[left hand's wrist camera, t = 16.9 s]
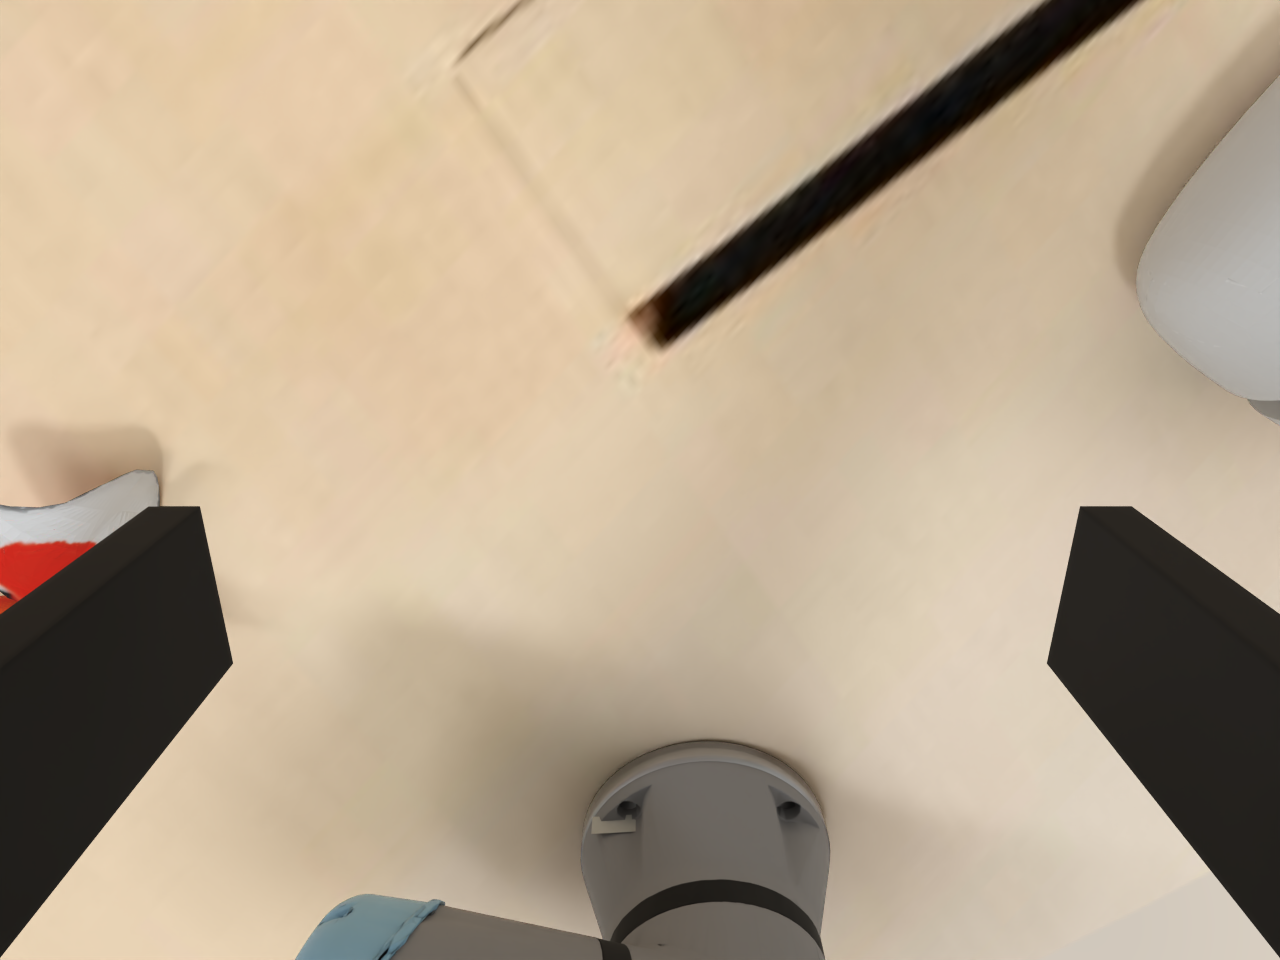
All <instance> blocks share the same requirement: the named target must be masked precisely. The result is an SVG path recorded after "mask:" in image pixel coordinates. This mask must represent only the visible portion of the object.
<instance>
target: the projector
mask: <svg viewBox="0 0 1280 960" xmlns="http://www.w3.org/2000/svg"><path fill="white" fill-rule="evenodd" d="M1136 290H1137V296H1138V300H1139V303H1140V307H1141V309H1142V311H1143V314H1144V316H1145V317H1146V319H1147V321H1148V322H1149V324H1150V325H1151V326H1152V328H1153V329H1154V330H1155V331H1156V332H1157V334H1158V335H1159V336H1160V337H1161V338H1162V339H1163V340H1164V341H1165V342H1166V343H1167V344H1168V345H1169V346H1170V347H1171V348H1172V349H1173V350H1174V351H1175V352H1176V353H1178V354H1179V355H1180V356H1181V357H1182V358H1184V359H1185V360H1186V361H1187V362H1188V363H1190V364H1191V365H1192V366H1193V367H1195V368H1196V369H1197V370H1199V371H1200V372H1201V373H1203V374H1204V375H1205V376H1207V377H1208V378H1209V379H1211V380H1212V381H1214V382H1215V383H1216V384H1218V385H1219V386H1221V387H1222V388H1224V389H1225V390H1227V391H1228V392H1230V393H1232V394H1234V395H1236V396H1239V397H1242V398H1247V399H1248V401H1249V403H1250V404H1251V405H1252V407H1253V408H1254V409H1255V410H1257V411H1258V412H1259V413H1261V414H1262V415H1264V416H1265V417H1267V418H1268V419H1270V420H1271V421H1273V422H1274V423H1276V424H1278V425H1279V426H1280V75H1279V76H1278V77H1277V78H1276V79H1275V81H1274V82H1273V83H1272V84H1271V85H1270V86H1269V87H1268V88H1267V89H1266V90H1265V92H1264V93H1263V94H1262V95H1261V96H1260V97H1259V98H1258V99H1257V100H1256V101H1255V103H1254V104H1253V105H1252V106H1251V107H1250V108H1249V109H1248V110H1247V111H1246V112H1245V114H1244V115H1243V116H1242V117H1241V118H1240V119H1239V121H1238V122H1237V123H1236V124H1235V125H1234V126H1233V128H1232V129H1231V130H1230V131H1229V132H1228V133H1227V135H1226V136H1225V137H1224V138H1223V139H1222V140H1221V142H1220V143H1219V144H1218V145H1217V146H1216V148H1215V149H1214V150H1213V151H1212V153H1211V154H1210V155H1209V156H1208V158H1207V159H1206V160H1205V161H1204V162H1203V164H1202V165H1201V166H1200V167H1199V169H1198V170H1197V171H1196V172H1195V174H1194V175H1193V176H1192V177H1191V179H1190V180H1189V181H1188V183H1187V184H1186V185H1185V187H1184V188H1183V189H1182V191H1181V192H1180V193H1179V195H1178V196H1177V197H1176V199H1175V200H1174V201H1173V203H1172V204H1171V206H1170V207H1169V209H1168V210H1167V212H1166V213H1165V215H1164V216H1163V218H1162V219H1161V221H1160V222H1159V224H1158V225H1157V227H1156V228H1155V230H1154V232H1153V234H1152V236H1151V237H1150V239H1149V241H1148V243H1147V245H1146V246H1145V249H1144V251H1143V254H1142V256H1141V258H1140V262H1139V265H1138V268H1137V276H1136Z"/></svg>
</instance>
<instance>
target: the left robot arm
mask: <svg viewBox="0 0 1280 960" xmlns="http://www.w3.org/2000/svg"><path fill="white" fill-rule="evenodd" d="M232 664H233V661H232V656H231V651H230V647H229V642H228V637H227V632H226V628H225V623H224V618H223V614H222V609H221V604H220V599H219V595H218V590H217V585H216V581H215V576H214V571H213V566H212V562H211V557H210V552H209V547H208V543H207V538H206V533H205V529H204V524H203V519H202V514H201V510H200V506H148V507H147V508H146V509H144V510H143V511H142V512H140V513H139V514H137V515H136V516H135V517H133V518H132V519H131V520H129V521H128V522H126V523H125V524H124V525H122V526H121V527H120V528H118V529H117V530H115V531H114V532H113V533H111V534H110V535H109V536H107V537H106V538H104V539H103V540H102V541H100V542H99V543H97V544H96V545H95V546H93V547H92V548H91V549H89V550H88V551H86V552H85V553H84V554H82V555H81V556H80V557H78V558H77V559H75V560H74V561H73V562H71V563H70V564H69V565H67V566H66V567H64V568H63V569H62V570H60V571H59V572H58V573H56V574H55V575H53V576H52V577H51V578H49V579H48V580H47V581H45V582H44V583H42V584H41V585H40V586H38V587H37V588H36V589H34V590H33V591H31V592H30V593H29V594H27V595H26V596H25V597H23V598H22V599H20V600H19V601H18V602H16V603H15V604H14V605H12V606H11V607H9V608H8V609H7V610H5V611H4V612H3V613H1V614H0V957H1V956H2V955H3V953H4V952H5V951H6V950H7V948H8V947H9V946H10V945H11V943H12V942H13V941H14V940H15V938H16V937H17V936H18V935H19V933H20V932H21V931H22V929H23V928H24V927H25V926H26V924H27V923H28V922H29V921H30V919H31V918H32V917H33V916H34V914H35V913H36V912H37V911H38V909H39V908H40V907H41V905H42V904H43V903H44V902H45V900H46V899H47V898H48V897H49V895H50V894H51V893H52V892H53V890H54V889H55V888H56V887H57V885H58V884H59V883H60V881H61V880H62V879H63V878H64V876H65V875H66V874H67V873H68V871H69V870H70V869H71V868H72V866H73V865H74V864H75V862H76V861H77V860H78V859H79V857H80V856H81V855H82V854H83V852H84V851H85V850H86V849H87V847H88V846H89V845H90V844H91V842H92V841H93V840H94V838H95V837H96V836H97V835H98V833H99V832H100V831H101V830H102V828H103V827H104V826H105V825H106V823H107V822H108V821H109V820H110V818H111V817H112V816H113V814H114V813H115V812H116V811H117V809H118V808H119V807H120V806H121V804H122V803H123V802H124V801H125V799H126V798H127V797H128V796H129V794H130V793H131V792H132V790H133V789H134V788H135V787H136V785H137V784H138V783H139V782H140V780H141V779H142V778H143V777H144V775H145V774H146V773H147V772H148V770H149V769H150V768H151V766H152V765H153V764H154V763H155V761H156V760H157V759H158V758H159V756H160V755H161V754H162V753H163V751H164V750H165V749H166V747H167V746H168V745H169V744H170V742H171V741H172V740H173V739H174V737H175V736H176V735H177V734H178V732H179V731H180V730H181V729H182V727H183V726H184V725H185V723H186V722H187V721H188V720H189V718H190V717H191V716H192V715H193V713H194V712H195V711H196V710H197V708H198V707H199V706H200V705H201V703H202V702H203V701H204V699H205V698H206V697H207V696H208V694H209V693H210V692H211V691H212V689H213V688H214V687H215V686H216V684H217V683H218V682H219V681H220V679H221V678H222V677H223V675H224V674H225V673H226V672H227V670H228V669H229V668H230V667H231V665H232ZM1047 664H1048V665H1049V667H1050V668H1051V669H1052V670H1053V672H1054V673H1055V674H1056V675H1057V677H1058V678H1059V679H1060V681H1061V682H1062V683H1063V684H1064V686H1065V687H1066V688H1067V689H1068V691H1069V692H1070V693H1071V694H1072V696H1073V697H1074V698H1075V699H1076V701H1077V702H1078V703H1079V705H1080V706H1081V707H1082V708H1083V710H1084V711H1085V712H1086V713H1087V715H1088V716H1089V717H1090V718H1091V720H1092V721H1093V722H1094V723H1095V725H1096V726H1097V727H1098V729H1099V730H1100V731H1101V732H1102V734H1103V735H1104V736H1105V737H1106V739H1107V740H1108V741H1109V742H1110V744H1111V745H1112V746H1113V747H1114V749H1115V750H1116V751H1117V753H1118V754H1119V755H1120V756H1121V758H1122V759H1123V760H1124V761H1125V763H1126V764H1127V765H1128V766H1129V768H1130V769H1131V770H1132V772H1133V773H1134V774H1135V775H1136V777H1137V778H1138V779H1139V780H1140V782H1141V783H1142V784H1143V785H1144V787H1145V788H1146V789H1147V790H1148V792H1149V793H1150V794H1151V796H1152V797H1153V798H1154V799H1155V801H1156V802H1157V803H1158V804H1159V806H1160V807H1161V808H1162V809H1163V811H1164V812H1165V813H1166V814H1167V816H1168V817H1169V818H1170V820H1171V821H1172V822H1173V823H1174V825H1175V826H1176V827H1177V828H1178V830H1179V831H1180V832H1181V833H1182V835H1183V836H1184V837H1185V838H1186V840H1187V841H1188V842H1189V844H1190V845H1191V846H1192V847H1193V849H1194V850H1195V851H1196V852H1197V854H1198V855H1199V856H1200V857H1201V859H1202V860H1203V861H1204V862H1205V864H1206V865H1207V866H1208V868H1209V869H1210V870H1211V871H1212V873H1213V874H1214V875H1215V876H1216V878H1217V879H1218V880H1219V881H1220V883H1221V884H1222V885H1223V886H1224V888H1225V889H1226V890H1227V892H1228V893H1229V894H1230V895H1231V897H1232V898H1233V899H1234V900H1235V902H1236V903H1237V904H1238V905H1239V907H1240V908H1241V909H1242V910H1243V912H1244V913H1245V914H1246V916H1247V917H1248V918H1249V919H1250V921H1251V922H1252V923H1253V924H1254V926H1255V927H1256V928H1257V929H1258V931H1259V932H1260V933H1261V935H1262V936H1263V937H1264V938H1265V940H1266V941H1267V942H1268V943H1269V945H1270V946H1271V947H1272V948H1273V950H1274V951H1275V952H1276V953H1277V955H1278V956H1279V957H1280V614H1279V613H1277V612H1276V611H1275V610H1273V609H1272V608H1271V607H1269V606H1268V605H1266V604H1265V603H1264V602H1262V601H1261V600H1260V599H1258V598H1257V597H1255V596H1254V595H1253V594H1251V593H1250V592H1249V591H1247V590H1246V589H1244V588H1243V587H1242V586H1240V585H1239V584H1238V583H1236V582H1235V581H1233V580H1232V579H1231V578H1229V577H1228V576H1227V575H1225V574H1224V573H1222V572H1221V571H1220V570H1218V569H1217V568H1216V567H1214V566H1213V565H1211V564H1210V563H1209V562H1207V561H1206V560H1205V559H1203V558H1202V557H1200V556H1199V555H1198V554H1196V553H1195V552H1194V551H1192V550H1191V549H1189V548H1188V547H1187V546H1185V545H1184V544H1183V543H1181V542H1180V541H1178V540H1177V539H1176V538H1174V537H1173V536H1172V535H1170V534H1169V533H1167V532H1166V531H1165V530H1163V529H1162V528H1160V527H1159V526H1158V525H1156V524H1155V523H1154V522H1152V521H1151V520H1149V519H1148V518H1147V517H1145V516H1144V515H1143V514H1141V513H1140V512H1138V511H1137V510H1136V509H1134V508H1133V507H1132V506H1080V510H1079V514H1078V519H1077V524H1076V529H1075V533H1074V538H1073V543H1072V547H1071V552H1070V557H1069V562H1068V566H1067V571H1066V576H1065V581H1064V585H1063V590H1062V595H1061V599H1060V604H1059V609H1058V614H1057V618H1056V623H1055V628H1054V632H1053V637H1052V642H1051V647H1050V651H1049V656H1048V661H1047ZM829 862H830V843H829V838H828V833H827V829H826V826H825V822H824V818H823V815H822V811H821V809H820V806H819V803H818V801H817V799H816V797H815V795H814V793H813V792H812V790H811V789H810V787H809V786H808V785H807V784H806V782H805V781H804V780H803V779H802V778H801V777H800V776H799V775H798V774H797V773H796V772H795V771H794V770H792V769H791V768H790V767H789V766H787V765H786V764H784V763H783V762H781V761H780V760H778V759H776V758H774V757H772V756H770V755H768V754H766V753H764V752H761V751H759V750H756V749H753V748H750V747H746V746H742V745H738V744H733V743H725V742H711V741H702V742H689V743H681V744H676V745H671V746H667V747H664V748H660V749H657V750H655V751H652V752H649V753H647V754H645V755H643V756H641V757H639V758H636V759H635V760H633V761H631V762H630V763H628V764H626V765H625V766H624V767H622V768H621V769H620V770H618V771H617V772H616V773H615V774H613V775H612V776H611V777H610V778H609V779H608V780H607V781H606V782H605V783H604V785H603V786H602V787H601V788H600V790H599V791H598V792H597V794H596V795H595V797H594V799H593V800H592V802H591V804H590V806H589V809H588V811H587V814H586V817H585V821H584V827H583V835H582V847H581V867H582V873H583V877H584V881H585V884H586V888H587V891H588V894H589V897H590V900H591V903H592V906H593V909H594V913H595V916H596V919H597V922H598V925H599V928H600V931H601V934H602V937H603V940H602V939H598V938H595V937H590V936H586V935H581V934H576V933H571V932H566V931H562V930H557V929H552V928H547V927H543V926H538V925H533V924H528V923H523V922H519V921H514V920H509V919H504V918H500V917H495V916H490V915H485V914H480V913H476V912H471V911H466V910H461V909H457V908H452V907H448V906H445V902H443V901H441V900H437V899H433V900H431V901H429V902H422V901H415V900H408V899H401V898H394V897H387V896H381V895H374V894H364V895H358V896H355V897H352V898H350V899H348V900H346V901H344V902H342V903H340V904H339V905H337V906H336V907H335V908H334V909H332V910H331V911H330V912H329V913H328V914H327V915H326V916H325V917H324V918H323V920H322V921H321V922H320V923H319V925H318V926H317V927H316V929H315V930H314V931H313V933H312V934H311V936H310V937H309V938H308V940H307V941H306V943H305V944H304V946H303V948H302V949H301V951H300V952H299V954H298V956H297V957H296V959H295V960H825V956H824V952H823V947H822V943H821V938H820V933H821V925H822V917H823V910H824V902H825V895H826V887H827V880H828V872H829Z"/></svg>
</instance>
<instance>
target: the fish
mask: <svg viewBox="0 0 1280 960" xmlns="http://www.w3.org/2000/svg"><path fill="white" fill-rule="evenodd" d="M148 506H160V495H159V484H158V479H157V476H156V474H155V473H154V471H147V470H134V471H132V472H129V473H127V474H124V475H122V476H120V477H118V478H116V479H114V480H112V481H110V482H108V483H105V484H103V485H101V486H99V487H97V488H95V489H93V490H91V491H89V492H86V493H84V494H82V495H80V496H78V497H76V498H74V499H72V500H70V501H68V502H66V503H63V504H57V505H51V506H45V507H10V506H4V505H0V592H1V593H2V594H4V595H5V596H0V614H1V613H3V612H4V611H5V610H7V609H8V608H9V607H11V606H12V605H14V604H15V603H16V602H18V601H19V600H20V599H22V598H23V597H25V596H26V595H27V594H29V593H30V592H31V591H33V590H34V589H36V588H37V587H38V586H40V585H41V584H42V583H44V582H45V581H47V580H48V579H49V578H51V577H52V576H53V575H55V574H56V573H58V572H59V571H60V570H62V569H63V568H64V567H66V566H67V565H69V564H70V563H71V562H73V561H74V560H75V559H77V558H78V557H80V556H81V555H82V554H84V553H85V552H86V551H88V550H89V549H91V548H92V547H93V546H95V545H96V544H97V543H99V542H100V541H102V540H103V539H104V538H106V537H107V536H109V535H110V534H111V533H113V532H114V531H115V530H117V529H118V528H120V527H121V526H122V525H124V524H125V523H126V522H128V521H129V520H131V519H132V518H133V517H135V516H136V515H137V514H139V513H140V512H142V511H143V510H144V509H146V508H147V507H148Z"/></svg>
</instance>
